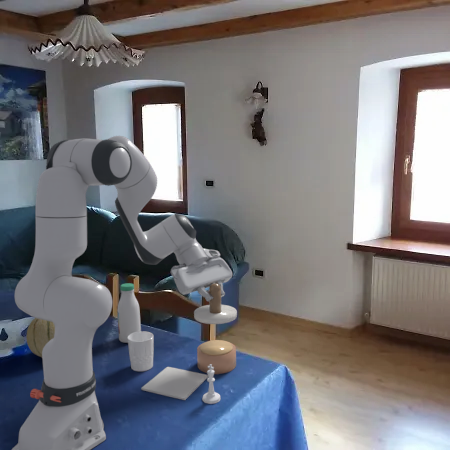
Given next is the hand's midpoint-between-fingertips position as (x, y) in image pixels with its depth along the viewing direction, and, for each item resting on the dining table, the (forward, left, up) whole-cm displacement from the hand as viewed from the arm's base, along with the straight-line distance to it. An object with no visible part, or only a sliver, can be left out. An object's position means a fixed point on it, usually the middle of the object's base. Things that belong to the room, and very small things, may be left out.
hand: (216, 298), depth 146 cm
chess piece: (-18, -7, -22) cm, 29 cm away
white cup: (-10, +22, -22) cm, 32 cm away
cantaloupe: (-15, +54, -22) cm, 60 cm away
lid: (0, +1, -6) cm, 6 cm away
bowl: (0, +1, -22) cm, 22 cm away
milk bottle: (+6, +38, -22) cm, 44 cm away
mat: (-15, +7, -22) cm, 27 cm away
